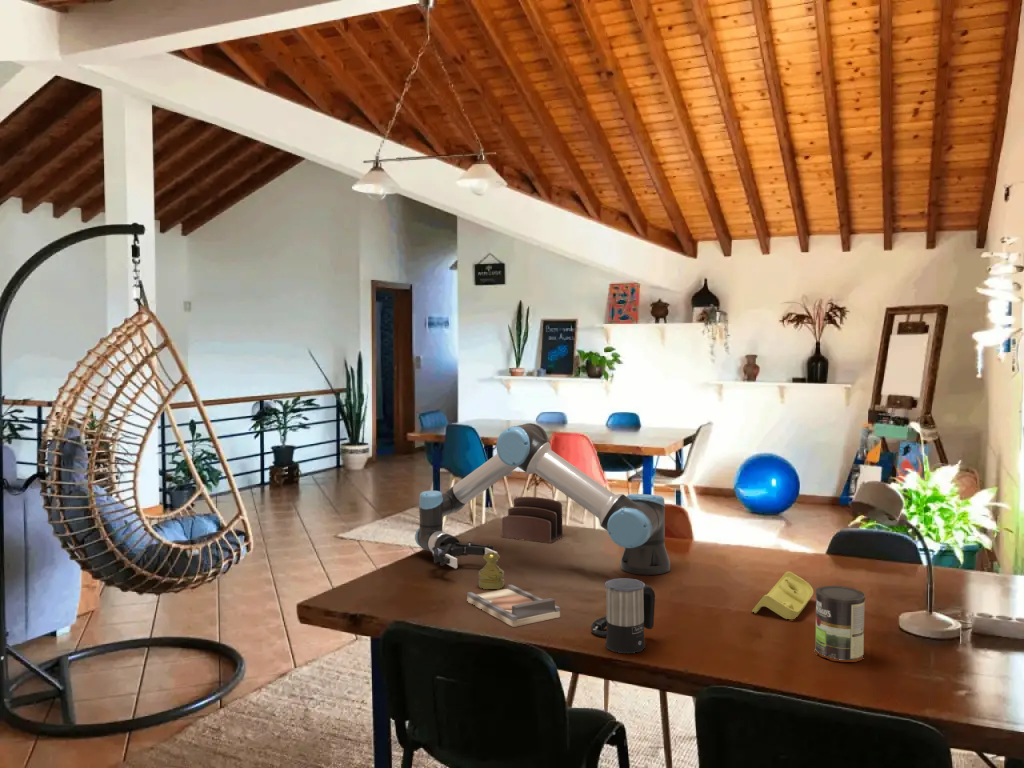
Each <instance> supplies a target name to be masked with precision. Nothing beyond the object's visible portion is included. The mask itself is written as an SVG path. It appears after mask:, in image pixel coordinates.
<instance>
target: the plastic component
mask: <svg viewBox="0 0 1024 768" xmlns="http://www.w3.org/2000/svg"><path fill="white" fill-rule="evenodd" d="M813 595H814V588H813V587H812V585H811V584H810V583H809V582H808V581H806V580H805V579H803V578H802V577H800V576H798V575H796V574H795V573H793V572H792V571H786V572H784V574H783V575H782V576H781V577H780V579H779V580H778V581H777V582H776V584H775V585H773V587H772V588H771V589H770V590H769V592H768V593H767V594H764V595H763V596H762V598H760V600H759V601H758V602H757V603H756V604H755V606H754V607H753V608H752V610H751V611H752V613H753V612H754V614H757V613H758V612H760V610H761V609H762V608H763V607H766V608H768V609H769V610H770V611H772V612H774V613H775V614H777V615H778V616H780V617H782V618H783V619H785V620H787V619H795V618H796V617H797V618H798V616H799V615H800V614H801V613H802V611H803V610H804V609H805V607H807V605H808V603H809V602H810V600H811V598H812V597H813ZM797 618H796V619H797ZM796 619H795V620H796Z"/></svg>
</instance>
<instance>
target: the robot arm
mask: <svg viewBox="0 0 1024 768" xmlns="http://www.w3.org/2000/svg"><path fill="white" fill-rule="evenodd" d="M548 436H549V435H548V434H547V432H546V431H545V429H544V428H543V427H542V426H540V425H539V424H536V423H527V422H526V423H524V424H518V425H514V426H512V425H511V426H510V427H508V428H506V429H504V430H502V432H501V433H500V434H499V435H498V437H497V440H496V446H495V447H496V454H495V455H493V456H492V457H491V458H489V459H488V460H487V461H485V462H484V463H482V465H480V466H479V467H477V468H475V469H474V470H473V471H471V472H470V473H469V474H467V475H466V476H465V477H463V478H462V479H461V480H459V481H458V482H456V483H455V484H454V485H453V486H451V487H450V488H448V489H447V490H446V491H444V492H441V491H440V490H425V491H422V492H420V494H419V502H418V507H419V510H418V511H419V513H418V514H419V527H418V529H417V530H416V532H415V534H414V540H415V543H416V544H417V546H419V547H420V548H421V549H423V550H425V551H428V552H429V553H432V554H431V555H432V557H433V564H435V565H436V564H438V563H439V562H440V563H439V564H440V565H439V566H445V564H446V565H448V566H449V567H451V568H453V569H457V568H458V558H456V557H460V556H465V557H467V556H469V555H474V556H483V555H485V554H486V553H488V552H494V553H496V554H498V551H495V550H494V545H490V544H483V543H475V542H471V541H468V542H467V543H462V542H460V541H459V539H458V538H457V537H456V536H454V535H452V534H449V533H448V532H444V531H443V525H444V524H443V523H444V520H443V518H444V517H446V516H449V515H451V514H453V513H457V512H459V511H461V510H462V509H463V508H464V507H465V505H467V504H468V503H469V502H471V501H472V500H474V499H475V498H476V497H478V496H479V495H480V494H482V493H483V492H485V491H486V490H487V489H489V488H490V487H492V486H493V485H494V484H496V483H497V482H499V481H500V480H501V479H503V478H504V477H506V476H507V475H509V474H510V473H511V472H512V471H514V470H516V469H517V468H519V469H520V470H522V471H523V472H524V473H526V474H528V475H531V474H536V475H538V477H540V478H541V479H543V480H544V481H545V482H548V484H550V485H551V486H552V487H554V488H555V489H557V490H558V491H560V492H561V493H562V494H564V495H565V496H566V497H568V498H569V499H571V500H572V501H574V502H575V503H577V504H578V505H579V506H580V507H582V508H583V509H584V510H586V511H588V512H589V513H590V514H592V515H593V516H594V517H596V518H598V520H599V521H598V522H599V526H600V527H601V528H602V529H604V530H605V531H606V532H607V533H608V536H609V538H610V539H611V541H612V542H613V543H614V544H616V545H617V546H619V547H620V548H624V549H623V551H622V552H623V553H622V556H621V560H620V569H621V570H622V571H623V572H626V573H628V574H629V573H630V574H635V575H641V576H642V575H643V576H644V575H645V576H654V575H662V574H666V573H668V572H670V571H671V560H670V557H669V554H668V551H667V549H666V544H665V537H666V536H665V532H666V531H665V526H666V525H665V523H666V522H665V520H666V518H665V517H666V516H665V510H666V509H665V508H666V505H665V499H664V497H663V496H662V495H656V494H645V493H644V494H642V493H641V494H640V493H629V494H627V495H625V494H624V493H620V494H615V493H614V492H612V491H610V490H609V489H608V488H606V487H605V486H603V485H602V484H601V483H599V482H598V481H596V480H595V479H594V478H592V477H590V476H589V475H588V474H587V473H584V472H583V470H580V469H579V468H577V467H576V466H575V465H573V464H572V463H570V462H569V461H567V460H566V459H565V458H563V457H562V456H560V455H559V454H557V453H556V452H555V451H553V450H552V446H551V443H550V442H549V437H548ZM498 555H499V554H498ZM498 560H499V559H498ZM498 560H497V561H496V562H499V561H498Z"/></svg>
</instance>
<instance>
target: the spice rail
mask: <svg viewBox="0 0 1024 768" xmlns="http://www.w3.org/2000/svg"><path fill="white" fill-rule="evenodd" d="M506 585H507V588H504V589H503V588H501V589H497V590H491V591H487V592H482V593H474V592H472V591H469V592H466V602H467V601H468V602H467V603H469V604H470V605H472V604H473V605H472V606H474V605H475V606H474V607H476V608H478V609H480V610H481V609H482V611H483V612H485V613H487V614H489V615H491V616H492V617H495V618H496V619H497V620H499V621H501V622H503V623H505V624H507V625H508V626H510V627H512V628H516V627H521V626H525V625H529V624H530V625H531V624H534V623H538V622H539V623H541V622H543V621H547V620H552V619H558V618H560V617H561V607H560V606H558V605H556V600H555V599H554V598H551V597H550V598H549V597H548V598H541V597H540V596H537V595H534V594H532V593H530V592H529V591H526V590H523V589H522V588H520V587H517V586H515V585H513V584H506Z"/></svg>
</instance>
